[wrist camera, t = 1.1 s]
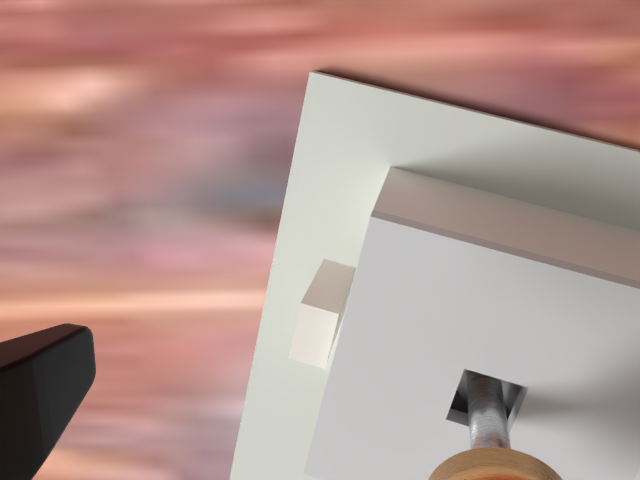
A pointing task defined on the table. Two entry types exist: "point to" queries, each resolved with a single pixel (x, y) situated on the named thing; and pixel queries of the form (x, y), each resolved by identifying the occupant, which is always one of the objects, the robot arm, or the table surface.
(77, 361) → the robot arm
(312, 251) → the board
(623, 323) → the white square box
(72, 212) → the table surface
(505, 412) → the plunger
